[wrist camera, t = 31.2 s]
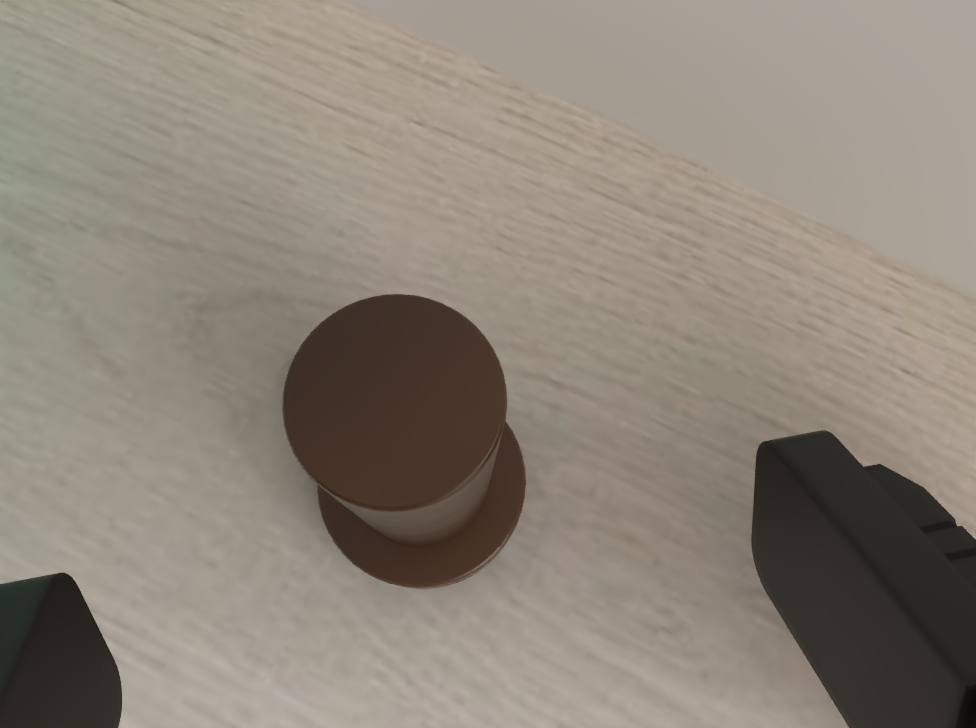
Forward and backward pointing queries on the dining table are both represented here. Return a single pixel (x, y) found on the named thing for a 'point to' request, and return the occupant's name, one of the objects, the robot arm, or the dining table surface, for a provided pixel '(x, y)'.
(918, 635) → the robot arm
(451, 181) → the dining table surface
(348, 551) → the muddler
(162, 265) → the dining table surface
